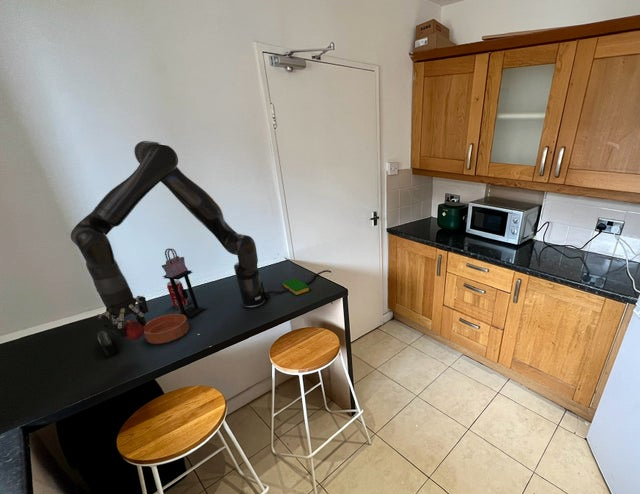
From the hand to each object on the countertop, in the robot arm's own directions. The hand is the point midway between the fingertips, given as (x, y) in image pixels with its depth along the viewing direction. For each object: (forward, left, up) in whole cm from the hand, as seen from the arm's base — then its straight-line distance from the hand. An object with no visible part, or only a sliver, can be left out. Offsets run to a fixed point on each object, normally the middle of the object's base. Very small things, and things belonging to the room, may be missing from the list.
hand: (133, 330), depth 107 cm
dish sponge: (-62, +22, -11) cm, 67 cm away
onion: (0, 0, -4) cm, 4 cm away
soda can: (-32, -19, -11) cm, 39 cm away
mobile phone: (0, -18, -11) cm, 21 cm away
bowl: (-13, -4, -11) cm, 17 cm away
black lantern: (-28, -9, -11) cm, 31 cm away
